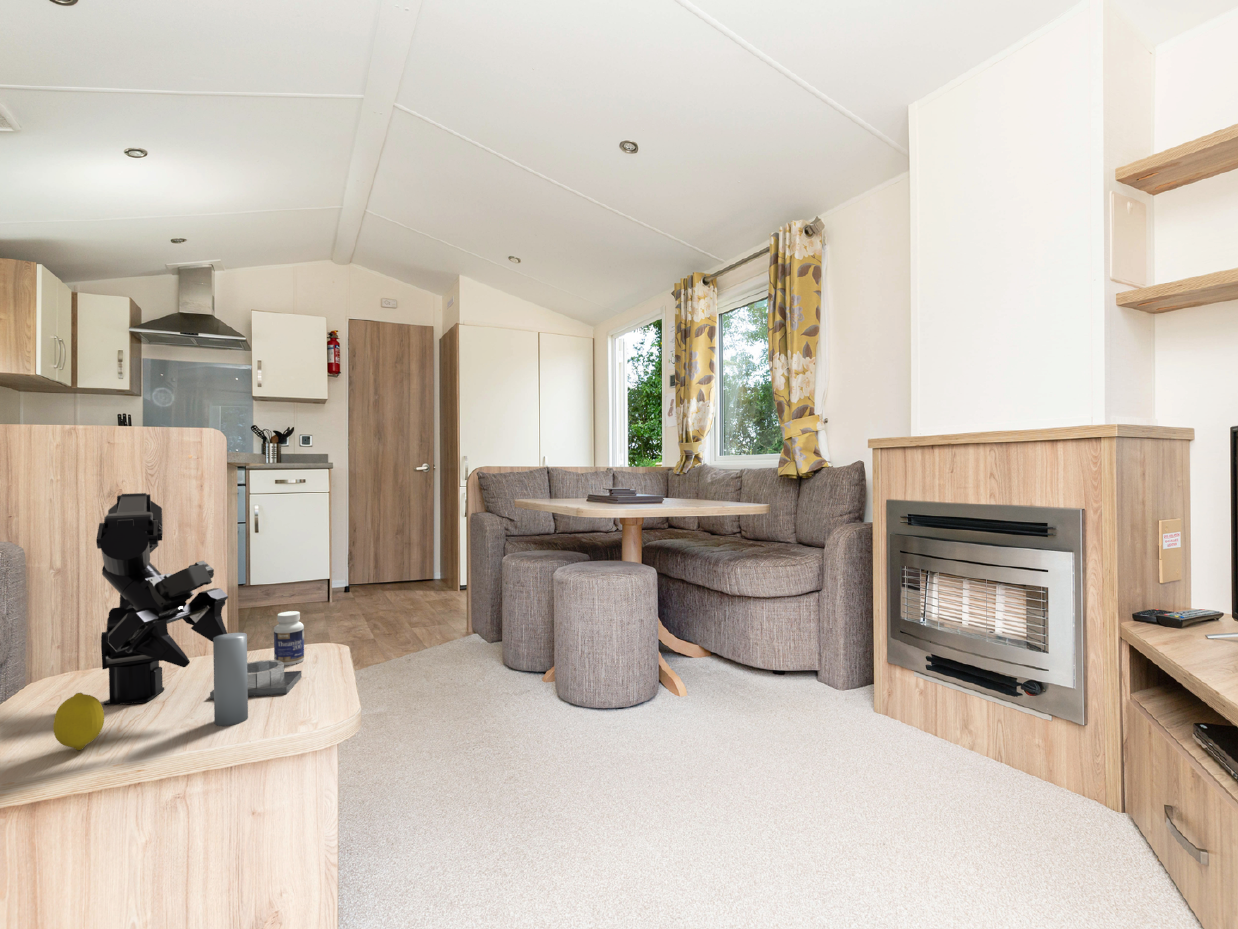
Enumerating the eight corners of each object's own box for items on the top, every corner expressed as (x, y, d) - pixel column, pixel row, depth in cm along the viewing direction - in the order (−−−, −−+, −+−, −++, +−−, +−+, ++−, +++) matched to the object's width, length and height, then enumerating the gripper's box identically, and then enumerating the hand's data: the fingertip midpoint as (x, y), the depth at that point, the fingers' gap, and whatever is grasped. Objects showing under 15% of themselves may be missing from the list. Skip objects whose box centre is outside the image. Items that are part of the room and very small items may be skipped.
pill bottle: (275, 668, 129) (274, 617, 129) (273, 661, 134) (272, 612, 134) (305, 663, 132) (305, 614, 132) (303, 656, 137) (302, 609, 136)
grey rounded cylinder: (209, 727, 101) (208, 641, 101) (221, 715, 105) (220, 633, 105) (241, 724, 102) (240, 639, 101) (252, 713, 106) (251, 632, 106)
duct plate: (210, 699, 112) (209, 677, 112) (230, 682, 121) (230, 661, 121) (286, 694, 115) (286, 672, 115) (301, 677, 124) (301, 657, 123)
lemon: (77, 760, 90) (76, 701, 90) (43, 757, 91) (41, 699, 91) (114, 742, 96) (113, 687, 96) (82, 740, 97) (81, 685, 97)
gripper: (125, 556, 94) (199, 635, 93) (216, 540, 113) (279, 605, 112) (74, 612, 95) (148, 690, 94) (173, 586, 114) (236, 651, 113)
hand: (209, 655), depth 103 cm, fingers open, 9 cm apart
